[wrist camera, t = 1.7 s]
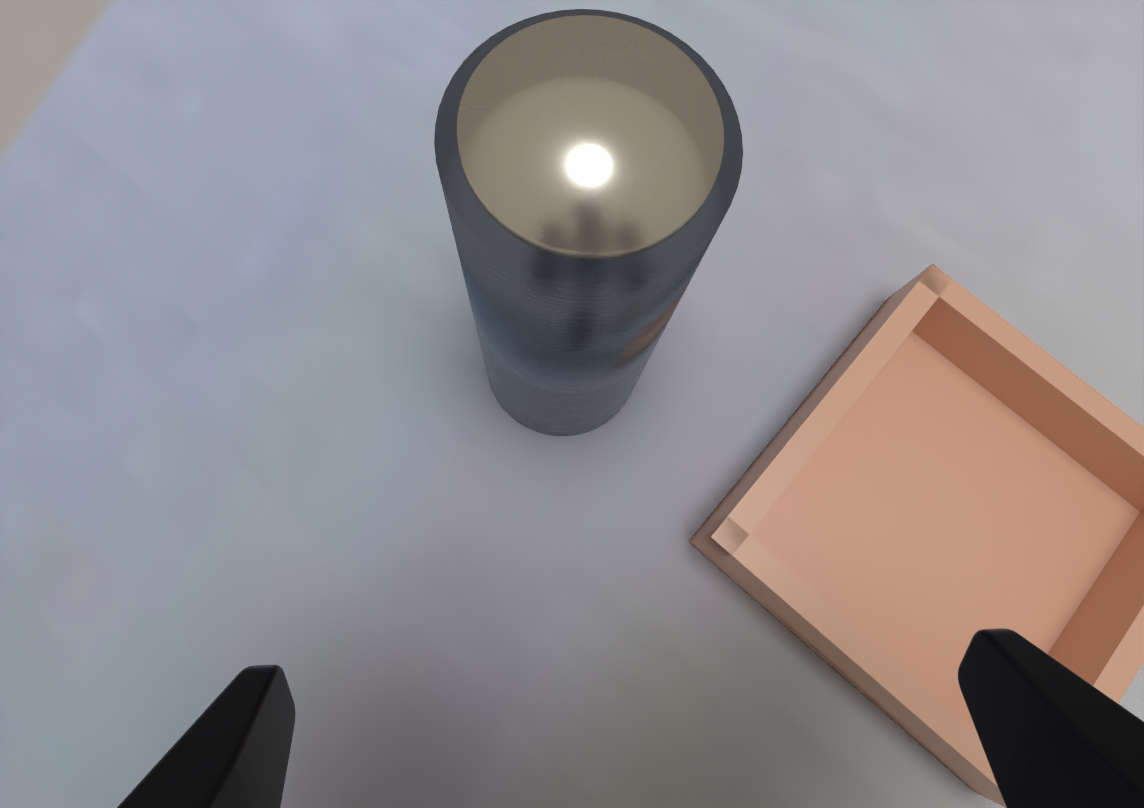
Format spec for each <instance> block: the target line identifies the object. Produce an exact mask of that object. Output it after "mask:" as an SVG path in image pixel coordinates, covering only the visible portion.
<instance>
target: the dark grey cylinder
mask: <svg viewBox="0 0 1144 808" xmlns="http://www.w3.org/2000/svg"><path fill="white" fill-rule="evenodd" d="M434 144H435V155H436V163H437V167H438V171H439V175H440V180H441V184H442V188H443V192H444V196H445V200H446V204H447V208H448V213H449V217H450V221H451V225H452V229H453V233H454V237H455V241H456V245H457V250H458V254H459V258H460V262H461V266H462V270H463V274H464V278H465V283H466V287H467V291H468V295H469V299H470V303H471V307H472V311H473V315H474V320H475V324H476V328H477V332H478V336H479V340H480V344H481V348H482V353H483V357H484V361H485V365H486V369H487V373H488V377H489V381H490V385H491V388H492V390H493V393H494V395H495V396H496V398H497V400H498V402H499V403H500V404H501V406H502V407H503V408H504V410H505V411H506V412H507V413H508V414H509V415H510V416H511V417H512V418H514V419H515V420H516V421H518V422H519V423H521V424H522V425H524V426H526V427H527V428H530V429H532V430H534V431H537V432H540V433H544V434H548V435H555V436H569V435H577V434H581V433H585V432H588V431H590V430H593V429H595V428H597V427H599V426H601V425H603V424H604V423H606V422H607V421H608V420H610V419H611V418H612V417H613V416H614V415H615V414H616V413H617V412H618V411H619V410H620V409H621V407H622V406H623V405H624V404H625V402H626V400H627V398H628V397H629V395H630V393H631V391H632V389H633V387H634V386H635V384H636V382H637V380H638V378H639V376H640V374H641V372H642V370H643V369H644V367H645V365H646V363H647V361H648V359H649V357H650V355H651V354H652V352H653V350H654V348H655V346H656V344H657V342H658V340H659V338H660V337H661V335H662V333H663V331H664V329H665V327H666V325H667V323H668V322H669V320H670V318H671V316H672V314H673V312H674V310H675V308H676V307H677V305H678V303H679V301H680V299H681V297H682V295H683V293H684V291H685V290H686V288H687V286H688V284H689V282H690V280H691V278H692V276H693V275H694V273H695V271H696V269H697V267H698V265H699V263H700V261H701V260H702V258H703V256H704V254H705V252H706V250H707V248H708V246H709V244H710V243H711V241H712V239H713V237H714V235H715V233H716V231H717V229H718V228H719V226H720V224H721V222H722V220H723V218H724V216H725V214H726V213H727V211H728V209H729V207H730V205H731V203H732V200H733V198H734V195H735V192H736V190H737V187H738V183H739V179H740V174H741V169H742V157H743V147H742V134H741V129H740V124H739V120H738V116H737V113H736V110H735V108H734V105H733V102H732V100H731V98H730V96H729V94H728V92H727V90H726V88H725V86H724V85H723V83H722V82H721V80H720V79H719V77H718V76H717V75H716V73H715V72H714V70H713V69H712V68H711V67H710V66H709V65H708V64H707V62H706V61H705V60H704V59H703V58H702V57H701V56H700V55H699V54H698V53H697V52H695V51H694V50H693V49H692V48H691V47H690V46H689V45H687V44H686V43H685V42H683V41H682V40H680V39H679V38H677V37H676V36H674V35H673V34H671V33H669V32H668V31H666V30H664V29H662V28H660V27H658V26H656V25H654V24H651V23H649V22H646V21H644V20H641V19H639V18H636V17H632V16H628V15H625V14H621V13H616V12H610V11H603V10H589V9H575V10H561V11H555V12H550V13H545V14H540V15H537V16H534V17H531V18H527V19H524V20H522V21H520V22H517V23H515V24H513V25H511V26H508V27H506V28H505V29H503V30H501V31H500V32H498V33H496V34H495V35H493V36H491V37H490V38H489V39H488V40H486V41H485V42H484V43H482V44H481V45H480V46H479V47H477V48H476V49H475V50H474V51H473V52H472V53H471V54H470V55H469V56H468V58H467V59H466V60H465V61H464V62H463V63H462V65H461V66H460V67H459V69H458V70H457V71H456V73H455V74H454V75H453V77H452V79H451V81H450V83H449V85H448V87H447V88H446V90H445V93H444V95H443V98H442V101H441V104H440V106H439V110H438V115H437V120H436V125H435V142H434Z"/></svg>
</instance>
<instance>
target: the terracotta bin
mask: <svg viewBox="0 0 1144 808" xmlns="http://www.w3.org/2000/svg"><path fill="white" fill-rule="evenodd" d="M689 542H690V543H691V544H693V545H694V546H695V547H696V548H697V549H698V550H699V551H701V552H702V553H703V554H704V555H705V556H706V557H707V558H709V559H710V560H711V561H712V562H713V563H714V564H715V565H717V566H718V567H719V568H720V569H721V570H722V571H723V572H725V573H726V574H727V575H728V576H729V577H730V578H731V579H733V580H734V581H735V582H736V583H737V584H738V585H739V586H741V587H742V588H743V589H744V590H745V591H746V592H747V593H749V594H750V595H751V596H752V597H753V598H754V599H755V600H757V601H758V602H759V603H760V604H761V605H762V606H763V607H765V608H766V609H767V610H768V611H769V612H770V613H771V614H773V615H774V616H775V617H776V618H777V619H778V620H779V621H781V622H782V623H783V624H784V625H785V626H786V627H787V628H788V629H790V630H791V631H792V632H793V633H794V634H795V635H796V636H798V637H799V638H800V639H801V640H802V641H803V642H804V643H806V644H807V645H808V646H809V647H810V648H811V649H812V650H814V651H815V652H816V653H817V654H818V655H819V656H820V657H822V658H823V659H824V660H825V661H826V662H827V663H828V664H830V665H831V666H832V667H833V668H834V669H835V670H836V671H838V672H839V673H840V674H841V675H842V676H843V677H844V678H846V679H847V680H848V681H849V682H850V683H851V684H852V685H854V686H855V687H856V688H857V689H858V690H859V691H860V692H862V693H863V694H864V695H865V696H866V697H867V698H868V699H870V700H871V701H872V702H873V703H874V704H875V705H876V706H878V707H879V708H880V709H881V710H882V711H883V712H884V713H886V714H887V715H888V716H889V717H890V718H891V719H892V720H894V721H895V722H896V723H897V724H898V725H899V726H900V727H902V728H903V729H904V730H905V731H906V732H907V733H908V734H909V735H911V736H912V737H913V738H914V739H915V740H916V741H917V742H919V743H920V744H921V745H922V746H923V747H924V748H925V749H927V750H928V751H929V752H930V753H931V754H932V755H933V756H935V757H936V758H937V759H938V760H939V761H940V762H941V763H943V764H944V765H945V766H946V767H947V768H948V769H949V770H951V771H952V772H953V773H954V774H955V775H956V776H957V777H959V778H960V779H961V780H962V781H963V782H964V783H965V784H967V785H968V786H969V787H970V788H971V789H972V790H973V791H975V792H976V793H978V794H980V795H982V796H984V797H986V798H988V799H990V800H992V801H994V802H996V803H998V804H1000V805H1002V806H1004V807H1006V805H1005V802H1004V800H1003V798H1002V795H1001V793H1000V790H999V788H998V786H997V783H996V781H995V778H994V775H993V773H992V770H991V768H990V765H989V762H988V760H987V757H986V755H985V752H984V749H983V747H982V744H981V742H980V739H979V736H978V734H977V731H976V729H975V726H974V723H973V721H972V718H971V715H970V713H969V710H968V708H967V705H966V702H965V700H964V697H963V695H962V692H961V689H960V686H959V682H958V668H959V665H960V663H961V661H962V659H963V657H964V654H965V652H966V650H967V648H968V646H969V644H970V641H971V639H972V637H973V635H974V634H975V633H976V632H977V631H979V630H981V629H997V628H1006V629H1010V630H1013V631H1015V632H1017V633H1018V634H1020V635H1021V636H1023V637H1024V638H1025V639H1027V640H1028V641H1030V642H1031V643H1033V644H1034V645H1035V646H1037V647H1038V648H1040V649H1041V650H1043V651H1044V652H1045V653H1047V654H1048V655H1050V656H1051V657H1052V658H1054V659H1055V660H1057V661H1058V662H1060V663H1061V664H1062V665H1064V666H1065V667H1067V668H1068V669H1070V670H1071V671H1072V672H1074V673H1075V674H1077V675H1078V676H1079V677H1081V678H1082V679H1084V680H1085V681H1087V682H1088V683H1089V684H1091V685H1092V686H1094V687H1095V688H1097V689H1098V690H1099V691H1101V692H1102V693H1104V694H1105V695H1106V696H1108V697H1109V698H1111V699H1112V700H1114V701H1115V702H1116V703H1119V701H1120V700H1121V698H1122V696H1123V695H1124V693H1125V692H1126V690H1127V688H1128V687H1129V685H1130V683H1131V682H1132V680H1133V679H1134V677H1135V675H1136V674H1137V672H1138V670H1139V669H1140V667H1141V666H1142V664H1143V662H1144V427H1143V426H1141V425H1140V424H1139V423H1137V422H1136V421H1135V420H1134V419H1132V418H1131V417H1130V416H1128V415H1127V414H1126V413H1125V412H1123V411H1122V410H1121V409H1119V408H1118V407H1117V406H1116V405H1114V404H1113V403H1112V402H1110V401H1109V400H1108V399H1107V398H1105V397H1104V396H1103V395H1101V394H1100V393H1099V392H1097V391H1096V390H1095V389H1094V388H1092V387H1091V386H1090V385H1088V384H1087V383H1086V382H1085V381H1083V380H1082V379H1081V378H1079V377H1078V376H1077V375H1076V374H1074V373H1073V372H1072V371H1070V370H1069V369H1068V368H1067V367H1065V366H1064V365H1063V364H1061V363H1060V362H1059V361H1058V360H1056V359H1055V358H1054V357H1052V356H1051V355H1050V354H1049V353H1047V352H1046V351H1045V350H1043V349H1042V348H1041V347H1039V346H1038V345H1037V344H1036V343H1034V342H1033V341H1032V340H1030V339H1029V338H1028V337H1027V336H1025V335H1024V334H1023V333H1021V332H1020V331H1019V330H1018V329H1016V328H1015V327H1014V326H1012V325H1011V324H1010V323H1009V322H1007V321H1006V320H1005V319H1003V318H1002V317H1001V316H1000V315H998V314H997V313H996V312H994V311H993V310H992V309H990V308H989V307H988V306H987V305H985V304H984V303H983V302H981V301H980V300H979V299H978V298H976V297H975V296H974V295H972V294H971V293H970V292H969V291H967V290H966V289H965V288H963V287H962V286H961V285H960V284H958V283H957V282H956V281H954V280H953V279H952V278H951V277H949V276H948V275H947V274H945V273H944V272H943V271H942V270H940V269H939V268H938V267H936V266H935V265H934V264H932V265H930V266H929V267H928V268H927V269H925V270H924V271H923V272H921V273H920V274H919V275H918V276H916V277H915V278H914V279H912V280H911V281H910V282H908V283H907V284H906V285H905V286H903V287H902V288H901V289H899V290H898V291H897V292H896V293H894V294H893V295H892V296H890V297H889V298H888V299H887V300H886V301H885V302H884V304H883V305H882V306H881V307H880V309H879V310H878V311H877V312H876V313H875V315H874V316H873V317H872V318H871V320H870V321H869V322H868V323H867V324H866V326H865V327H864V328H863V329H862V331H861V332H860V333H859V334H858V335H857V337H856V338H855V339H854V340H853V341H852V343H851V344H850V345H849V346H848V348H847V349H846V350H845V351H844V352H843V354H842V355H841V356H840V357H839V359H838V360H837V361H836V362H835V363H834V365H833V366H832V367H831V368H830V370H829V371H828V372H827V373H826V374H825V376H824V377H823V378H822V379H821V381H820V382H819V383H818V384H817V385H816V387H815V388H814V389H813V390H812V392H811V393H810V394H809V395H808V396H807V398H806V399H805V400H804V401H803V403H802V404H801V405H800V406H799V407H798V409H797V410H796V411H795V412H794V414H793V415H792V416H791V417H790V418H789V420H788V421H787V422H786V423H785V425H784V426H783V427H782V428H781V429H780V431H779V432H778V433H777V434H776V435H775V437H774V438H773V439H772V440H771V442H770V443H769V444H768V445H767V446H766V448H765V449H764V450H763V451H762V453H761V454H760V455H759V456H758V457H757V459H756V460H755V461H754V462H753V464H752V465H751V466H750V467H749V468H748V470H747V471H746V472H745V473H744V475H743V476H742V477H741V478H740V479H739V481H738V482H737V483H736V484H735V486H734V487H733V488H732V489H731V490H730V492H729V493H728V494H727V495H726V497H725V498H724V499H723V500H722V501H721V503H720V504H719V505H718V506H717V508H716V509H715V510H714V511H713V512H712V514H711V515H710V516H709V517H708V519H707V520H706V521H705V522H704V523H703V525H702V526H701V527H700V528H699V529H698V531H697V532H696V533H695V534H694V536H693V537H692V538H691V539H690V540H689ZM1006 808H1007V807H1006Z"/></svg>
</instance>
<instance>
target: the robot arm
mask: <svg viewBox="0 0 1144 808" xmlns="http://www.w3.org/2000/svg"><path fill="white" fill-rule="evenodd" d="M958 682H959V686H960V689H961V692H962V695H963V697H964V700H965V702H966V705H967V708H968V710H969V713H970V715H971V718H972V721H973V723H974V726H975V729H976V731H977V734H978V736H979V739H980V742H981V744H982V747H983V749H984V752H985V755H986V757H987V760H988V762H989V765H990V768H991V770H992V773H993V775H994V778H995V781H996V783H997V786H998V788H999V790H1000V793H1001V795H1002V798H1003V800H1004V802H1005V805H1006V807H1007V808H1144V722H1143V721H1142V720H1141V719H1139V718H1138V717H1136V716H1135V715H1133V714H1132V713H1131V712H1129V711H1128V710H1126V709H1125V708H1124V707H1122V706H1121V705H1119V704H1118V703H1116V702H1115V701H1114V700H1112V699H1111V698H1109V697H1108V696H1106V695H1105V694H1104V693H1102V692H1101V691H1099V690H1098V689H1097V688H1095V687H1094V686H1092V685H1091V684H1089V683H1088V682H1087V681H1085V680H1084V679H1082V678H1081V677H1079V676H1078V675H1077V674H1075V673H1074V672H1072V671H1071V670H1070V669H1068V668H1067V667H1065V666H1064V665H1062V664H1061V663H1060V662H1058V661H1057V660H1055V659H1054V658H1052V657H1051V656H1050V655H1048V654H1047V653H1045V652H1044V651H1043V650H1041V649H1040V648H1038V647H1037V646H1035V645H1034V644H1033V643H1031V642H1030V641H1028V640H1027V639H1025V638H1024V637H1023V636H1021V635H1020V634H1018V633H1017V632H1015V631H1013V630H1010V629H1006V628H997V629H981V630H979V631H977V632H976V633H975V634H974V635H973V637H972V639H971V641H970V644H969V646H968V648H967V650H966V652H965V654H964V657H963V659H962V661H961V663H960V665H959V668H958ZM294 724H295V705H294V701H293V698H292V695H291V692H290V689H289V686H288V683H287V680H286V677H285V674H284V671H283V669H282V668H281V667H280V666H278V665H258V666H249V667H247V668H245V669H244V670H242V671H241V672H240V673H239V674H238V675H237V676H236V677H235V678H234V680H233V681H232V682H231V683H230V684H229V685H228V686H227V687H226V688H225V689H224V691H223V692H222V693H221V694H220V695H219V696H218V697H217V698H216V699H215V700H214V702H213V703H212V704H211V705H210V706H209V707H208V708H207V709H206V710H205V711H204V713H203V714H202V715H201V716H200V717H199V718H198V719H197V720H196V721H195V722H194V724H193V725H192V726H191V727H190V728H189V729H188V730H187V731H186V732H185V733H184V735H183V736H182V737H181V738H180V739H179V740H178V741H177V742H176V743H175V744H174V746H173V747H172V748H171V749H170V750H169V751H168V752H167V753H166V754H165V755H164V757H163V758H162V759H161V760H160V761H159V762H158V763H157V764H156V765H155V766H154V768H153V769H152V770H151V771H150V772H149V773H148V774H147V775H146V776H145V777H144V779H143V780H142V781H141V782H140V783H139V784H138V785H137V786H136V787H135V788H134V790H133V791H132V792H131V793H130V794H129V795H128V796H127V797H126V798H125V799H124V801H123V802H122V803H121V804H120V805H119V806H118V807H117V808H280V805H281V800H282V794H283V788H284V782H285V776H286V771H287V765H288V759H289V753H290V747H291V742H292V736H293V730H294Z"/></svg>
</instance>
